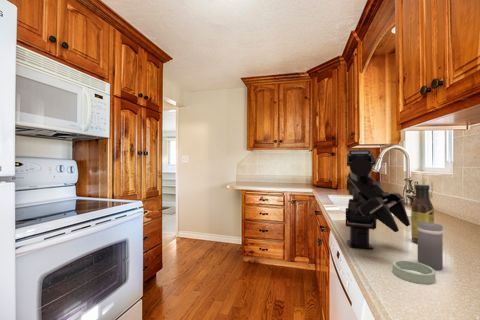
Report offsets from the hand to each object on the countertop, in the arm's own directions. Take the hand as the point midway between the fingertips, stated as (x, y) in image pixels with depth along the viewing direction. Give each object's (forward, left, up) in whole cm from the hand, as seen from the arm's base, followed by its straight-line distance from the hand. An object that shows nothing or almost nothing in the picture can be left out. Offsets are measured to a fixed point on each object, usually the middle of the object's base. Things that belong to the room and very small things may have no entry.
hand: (403, 228), depth 69 cm
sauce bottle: (-17, +13, -9) cm, 23 cm away
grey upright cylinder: (+4, +5, -9) cm, 11 cm away
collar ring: (+11, -2, -8) cm, 14 cm away
